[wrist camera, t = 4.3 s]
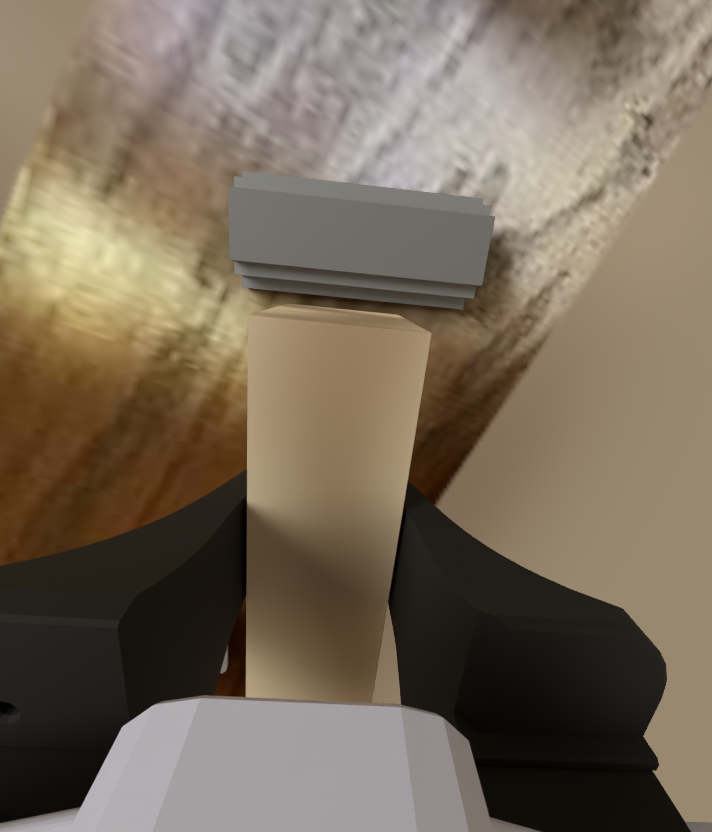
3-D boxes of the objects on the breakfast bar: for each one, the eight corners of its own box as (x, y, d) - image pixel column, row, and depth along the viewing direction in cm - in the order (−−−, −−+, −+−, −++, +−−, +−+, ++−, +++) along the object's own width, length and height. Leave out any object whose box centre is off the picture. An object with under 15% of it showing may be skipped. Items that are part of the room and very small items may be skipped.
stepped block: (246, 287, 17) (229, 286, 15) (247, 176, 16) (228, 154, 13) (458, 308, 18) (477, 311, 15) (476, 202, 17) (500, 186, 14)
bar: (276, 583, 15) (245, 715, 11) (288, 303, 12) (248, 314, 7) (362, 588, 16) (368, 720, 11) (398, 314, 12) (431, 333, 7)
